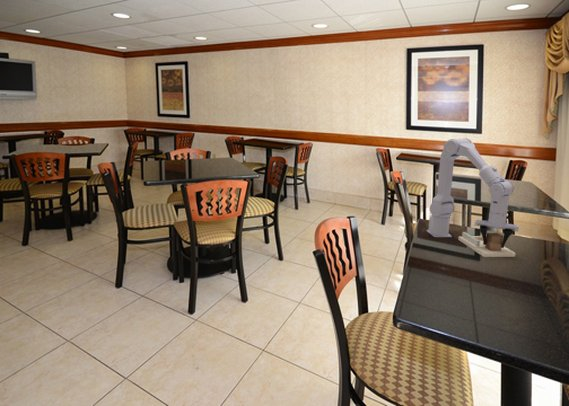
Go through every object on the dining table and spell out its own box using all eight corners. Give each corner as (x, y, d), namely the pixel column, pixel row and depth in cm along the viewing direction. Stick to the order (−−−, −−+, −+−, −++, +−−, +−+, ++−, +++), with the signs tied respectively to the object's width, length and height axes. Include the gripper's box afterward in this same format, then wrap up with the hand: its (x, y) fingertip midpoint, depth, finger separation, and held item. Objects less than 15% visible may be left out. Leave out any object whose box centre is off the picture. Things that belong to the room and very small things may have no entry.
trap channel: (458, 239, 154) (459, 231, 153) (485, 239, 154) (486, 231, 153) (483, 257, 134) (484, 248, 134) (515, 256, 134) (516, 248, 134)
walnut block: (485, 247, 140) (486, 233, 139) (495, 247, 140) (497, 232, 139) (490, 250, 136) (492, 236, 135) (501, 250, 136) (503, 236, 135)
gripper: (520, 212, 134) (515, 246, 137) (478, 207, 142) (474, 239, 145) (520, 216, 129) (515, 251, 132) (475, 211, 137) (471, 244, 140)
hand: (493, 245), depth 138 cm, fingers closed on walnut block, 5 cm apart
